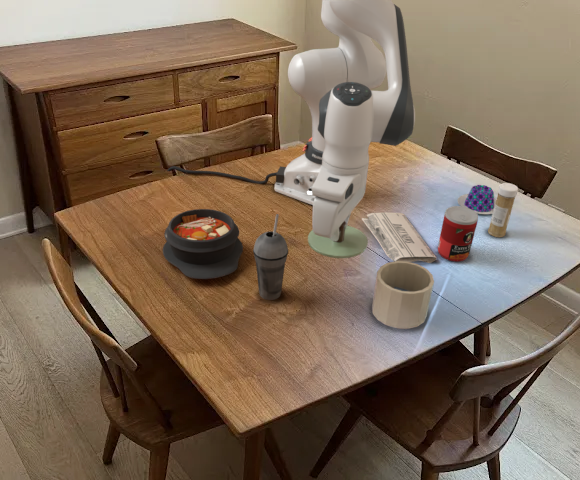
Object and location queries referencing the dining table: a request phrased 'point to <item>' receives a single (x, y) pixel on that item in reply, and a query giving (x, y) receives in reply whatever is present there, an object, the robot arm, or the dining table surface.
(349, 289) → the dining table surface
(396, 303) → the jar
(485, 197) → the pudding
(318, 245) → the lid
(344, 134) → the robot arm
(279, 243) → the beverage cup
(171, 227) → the casserole
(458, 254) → the canned food
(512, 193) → the sprinkles bottle
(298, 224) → the dining table surface
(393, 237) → the newspaper
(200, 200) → the dining table surface
